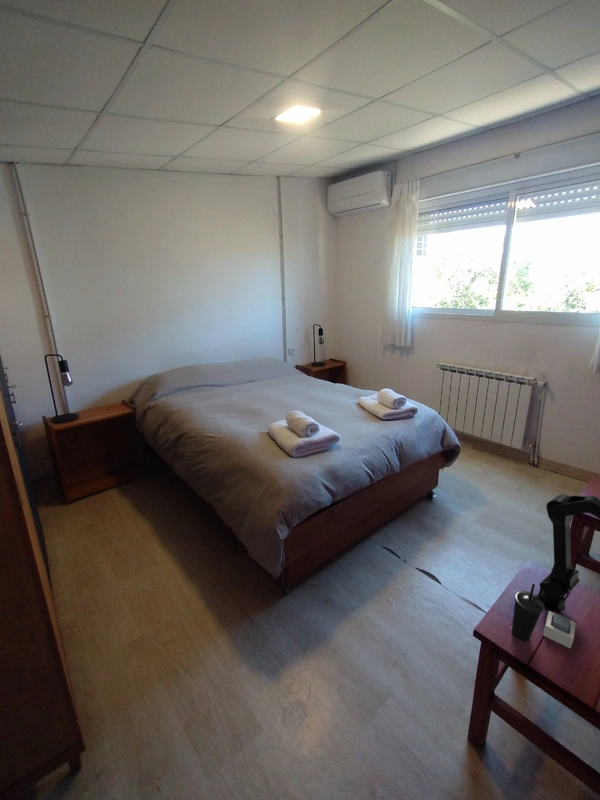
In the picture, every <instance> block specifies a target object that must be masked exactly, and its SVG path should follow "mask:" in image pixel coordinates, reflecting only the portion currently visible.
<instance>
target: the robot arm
mask: <svg viewBox="0 0 600 800" xmlns="http://www.w3.org/2000/svg"><path fill="white" fill-rule="evenodd" d="M545 508H546V512H547V516H548V519H549V521H550V522H551V523H552V539H553V567H552V568H551V571H550V573H549V574H548V575H547V576H545V577H544V579H542V580H541V582H539V591H538V594H535V595H536V596H537V597H539V598H540V599H541V601H542V602H543V604H544V608H546V609H547V610H548V612H549V611H551V612H555V611H559V610H562V609H565V607H566V605H565V602H566V598H565V597H566V595H567V594H569V593H570V592H571V591H572V590H573V589H574V588H575V587H576V586H577V585H578V584H579V583H580V582H581V581H580V579H579V578H580V577H579V573H580V571H579V570H577V569H574V567H573V565H572V557H571V556H572V553H571V551H572V550H571V547H572V546H571V523H572V519H573V517H574V515H580V514H590V515H592V516H594V517H596V518H597V519H599V520H600V499H599V498H598V497H597V496H594V495H587V496H586V495H585V496H583V495H566V494H563V493H561V494H558V495H556V496H555V497H553V498H552V499H551V500H550V501H548V502H547V503H546V507H545Z"/></svg>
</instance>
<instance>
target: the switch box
mask: <svg viewBox="0 0 600 800" xmlns="http://www.w3.org/2000/svg"><path fill="white" fill-rule="evenodd" d="M555 613H556V612H554V611H552V612H551V611H549V610H548V613H547V617H546V620H545V625H544V630H543V634H542V636H544V637H545V638H548V639H550V640H551V641H553V642H556V643H557V644H560V645H562V646H564V647H566V648H568V649H572V645H573V643H574V640H575V639H574V638H575V629H576V622H575V621H573V620H571V619H570V627H569V631H568V633H566V632H564V631H562V630H560V629H557V628H555V627H553V626H552V622H553V618H554V614H555Z"/></svg>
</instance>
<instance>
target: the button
mask: <svg viewBox="0 0 600 800" xmlns="http://www.w3.org/2000/svg"><path fill="white" fill-rule="evenodd" d="M554 613H555V614H554V618H553V622H552V626H553V627H555V628H557V629H560V630H562V631H564V632H566V633H568V631H569V627H570V620H571V619H569V618H567V617H566V616H563V615H561V614H560V613H556V612H554Z"/></svg>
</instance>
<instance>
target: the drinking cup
mask: <svg viewBox="0 0 600 800" xmlns="http://www.w3.org/2000/svg"><path fill="white" fill-rule="evenodd" d="M535 588H536V584H535V583H532V584H531V588H530V592H529V591H526V590H519V591H517V592H515V594H514V607H513V616H512V625H511V626H512V627H511V633H512V636H513V637H514V638H515V639H517V640H518V641H520V642H524V643H526V642H528V641H529V640H530V638H531V637H532V634H533V632H534V629H535V628H536V626H537V623H538V621H539V618H540V616H541V614H542V613H543V611H544V610H545V606H544V604H543V602H542V601H541V599H540V598H539V597H537V596H536V595H537V594H534V591H535Z"/></svg>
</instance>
